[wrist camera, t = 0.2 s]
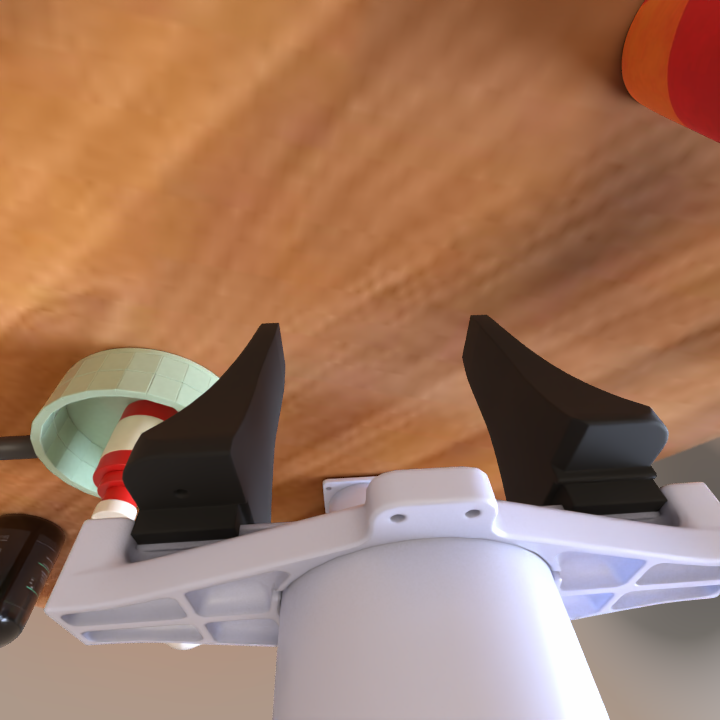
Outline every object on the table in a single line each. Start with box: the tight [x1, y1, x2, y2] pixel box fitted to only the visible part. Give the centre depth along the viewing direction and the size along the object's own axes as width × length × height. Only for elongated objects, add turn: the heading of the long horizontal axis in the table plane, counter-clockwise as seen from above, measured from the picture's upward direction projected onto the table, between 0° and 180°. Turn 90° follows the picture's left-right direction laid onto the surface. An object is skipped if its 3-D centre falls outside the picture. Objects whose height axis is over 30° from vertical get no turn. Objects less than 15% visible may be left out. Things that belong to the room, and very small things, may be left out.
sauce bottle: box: [91, 400, 178, 520], centre depth 28 cm, size 4×4×8 cm
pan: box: [30, 348, 220, 498], centre depth 30 cm, size 13×13×4 cm
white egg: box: [166, 643, 201, 650], centre depth 47 cm, size 10×7×7 cm
